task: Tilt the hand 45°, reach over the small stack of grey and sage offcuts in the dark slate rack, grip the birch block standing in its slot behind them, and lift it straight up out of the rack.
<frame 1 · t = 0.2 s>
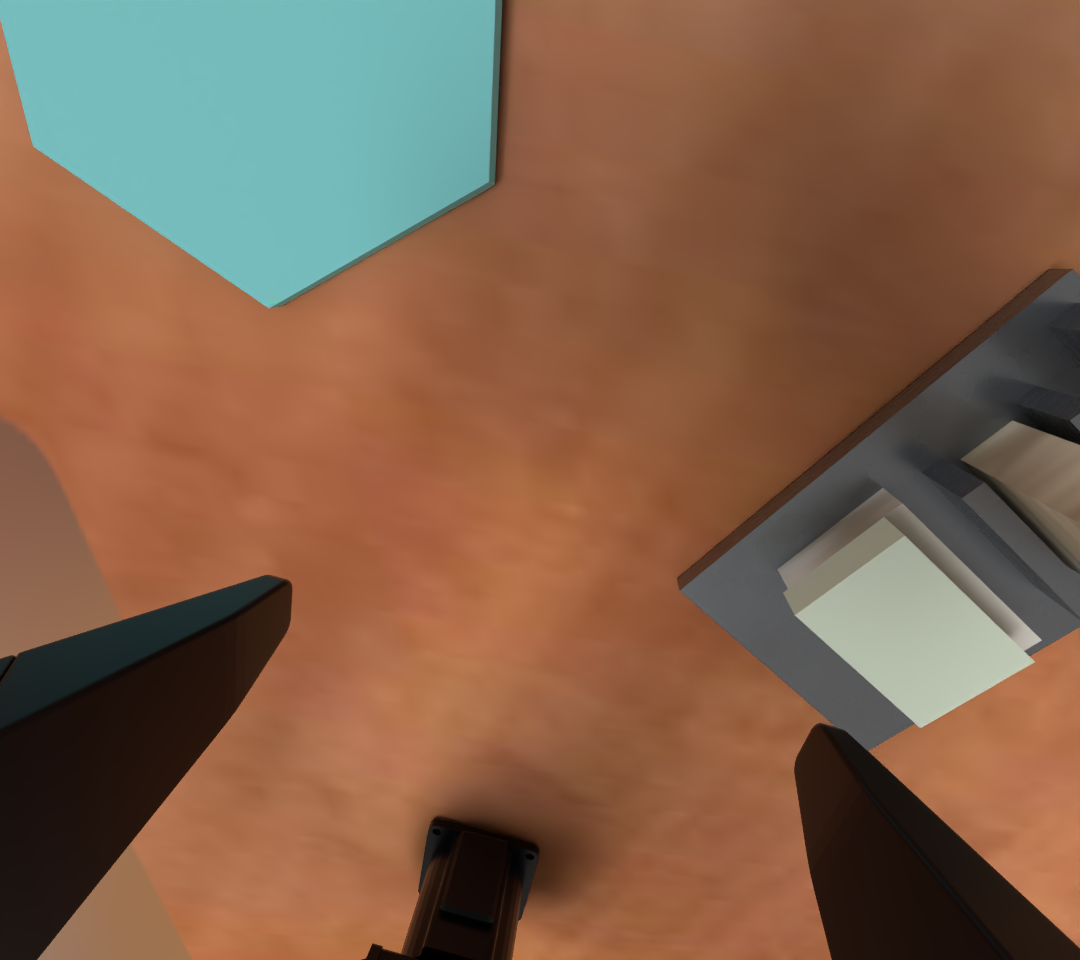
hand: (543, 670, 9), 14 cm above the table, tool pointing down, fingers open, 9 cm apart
offcut upper: (893, 613, 21), point 2 cm above the table, touching offcut lower
offcut rack: (1018, 484, 21), on the table
plaque: (264, 9, 19), on the table
birch block: (1037, 494, 20), point 1 cm above the table, touching offcut rack
offcut lower: (894, 592, 22), point 1 cm above the table, touching offcut rack, offcut upper
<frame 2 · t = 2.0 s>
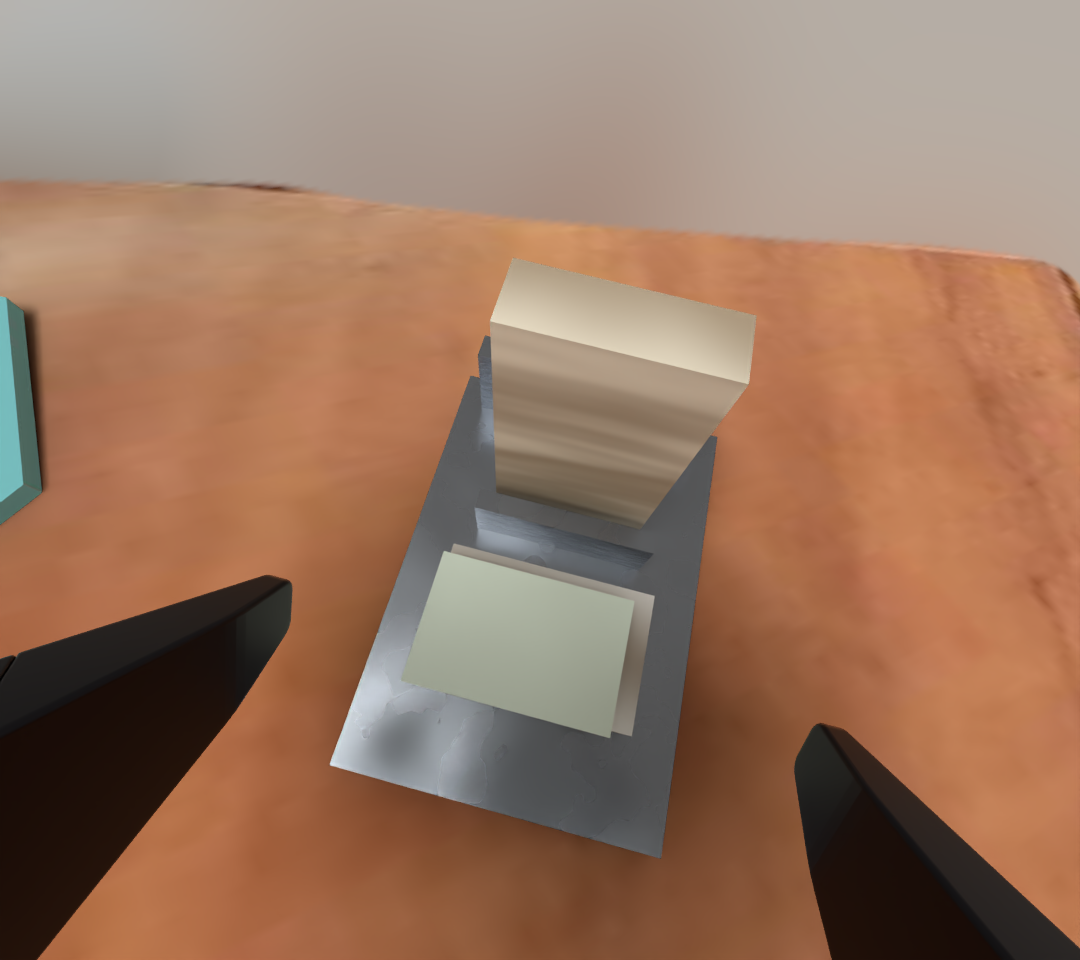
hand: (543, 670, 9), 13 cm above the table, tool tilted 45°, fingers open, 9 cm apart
offcut upper: (521, 644, 20), point 2 cm above the table, touching offcut lower
offcut rack: (566, 509, 25), on the table
birch block: (569, 501, 24), point 1 cm above the table, touching offcut rack
offcut lower: (535, 639, 21), point 1 cm above the table, touching offcut rack, offcut upper
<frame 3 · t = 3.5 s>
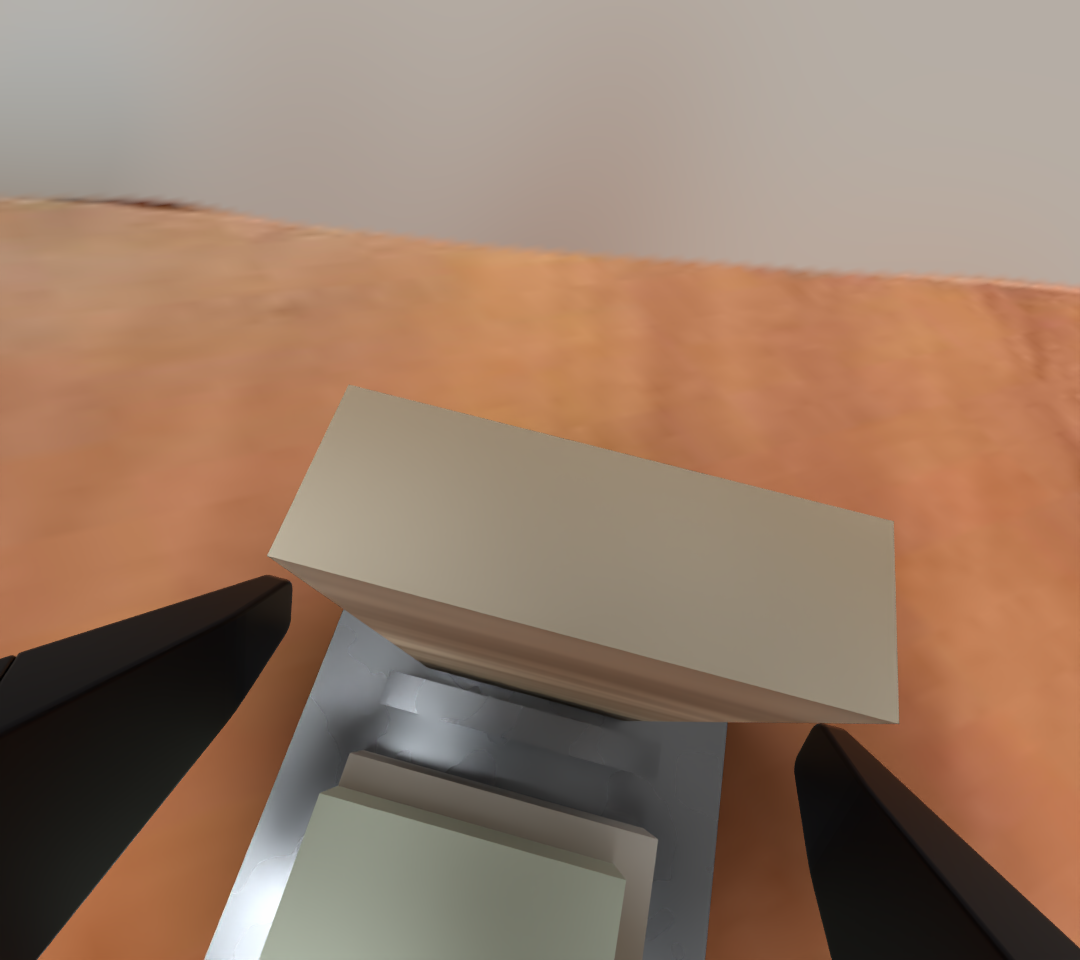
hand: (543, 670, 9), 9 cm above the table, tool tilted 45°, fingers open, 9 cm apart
offcut upper: (445, 936, 12), point 2 cm above the table, touching offcut lower
offcut rack: (531, 662, 17), on the table
birch block: (533, 659, 16), point 1 cm above the table, touching offcut rack
offcut lower: (475, 897, 14), point 1 cm above the table, touching offcut rack, offcut upper
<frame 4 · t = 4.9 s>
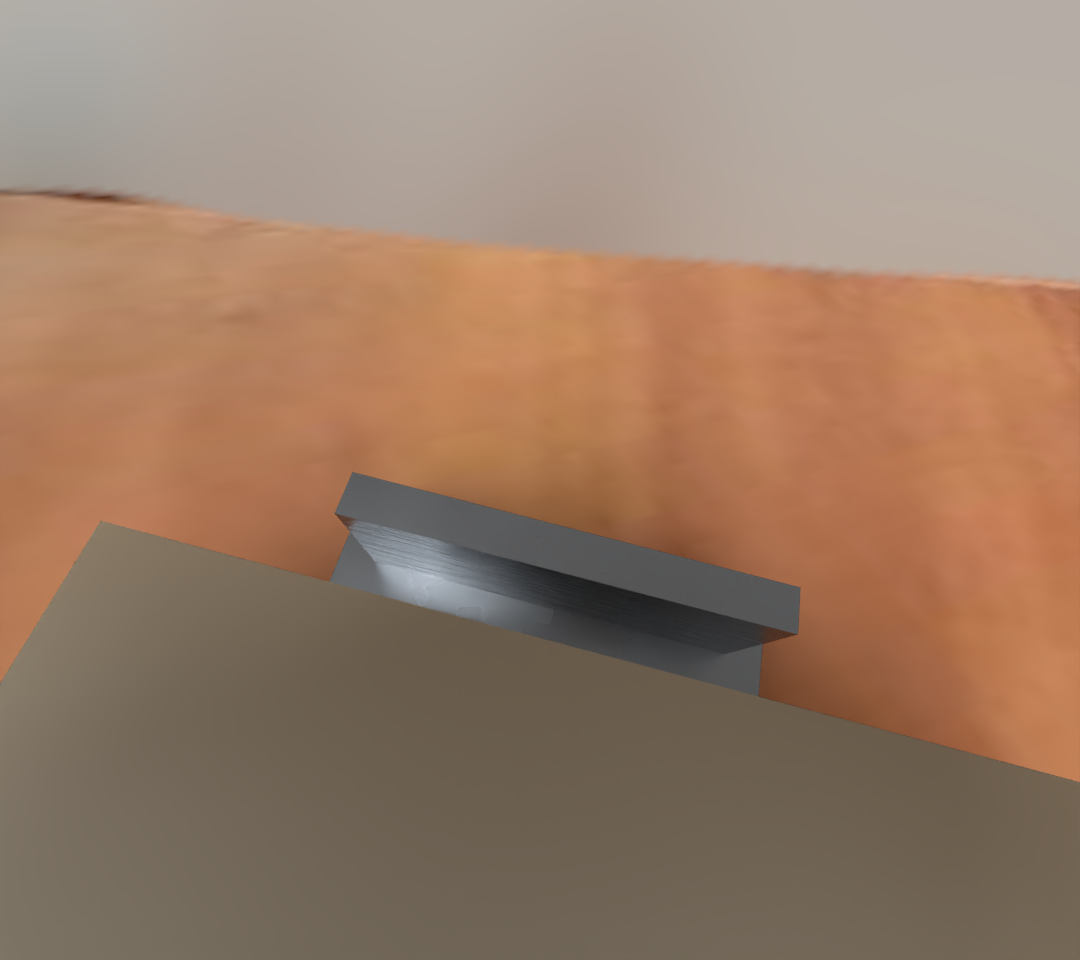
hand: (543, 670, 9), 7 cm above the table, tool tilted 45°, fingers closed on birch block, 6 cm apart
offcut rack: (514, 741, 15), on the table
birch block: (514, 743, 14), point 1 cm above the table, touching gripper, offcut rack
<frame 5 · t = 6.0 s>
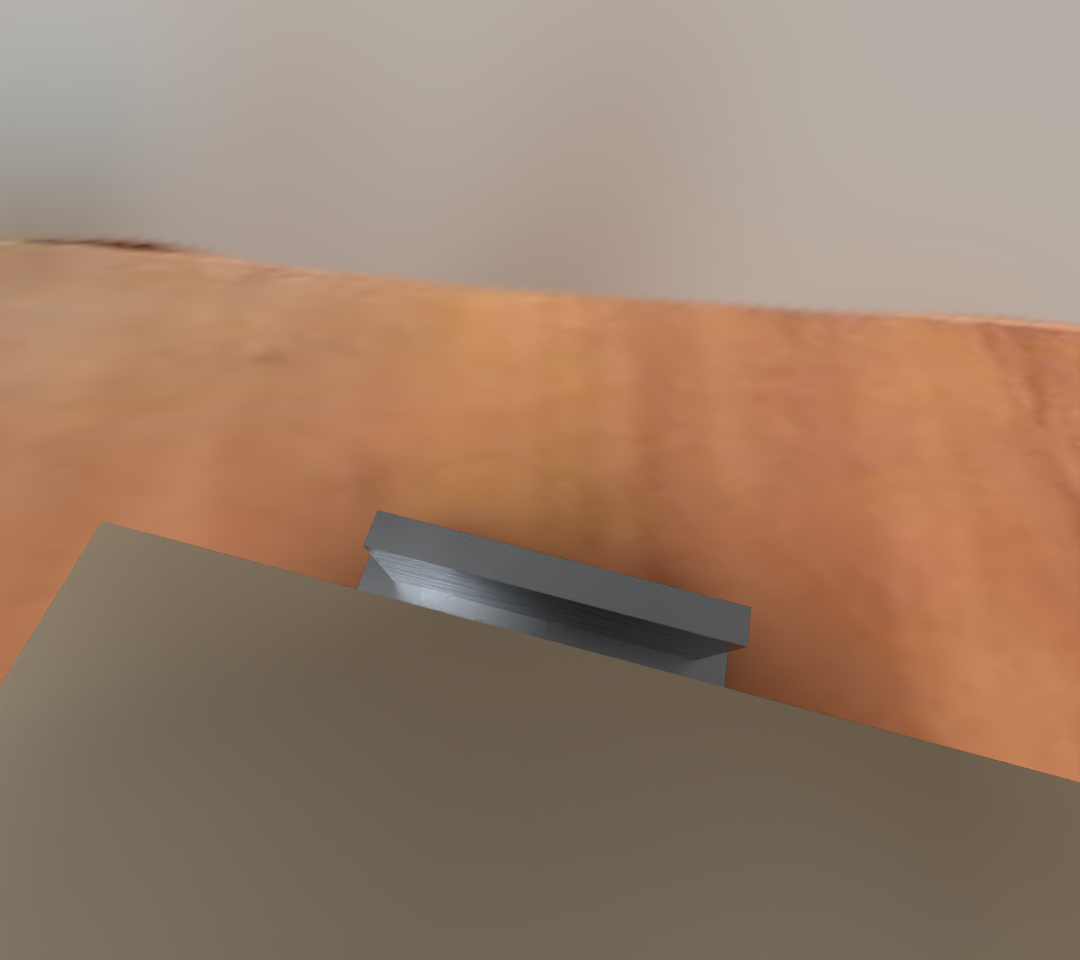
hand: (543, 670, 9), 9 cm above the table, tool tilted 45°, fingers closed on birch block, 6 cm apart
offcut rack: (513, 735, 17), on the table
birch block: (514, 743, 14), point 4 cm above the table, touching gripper
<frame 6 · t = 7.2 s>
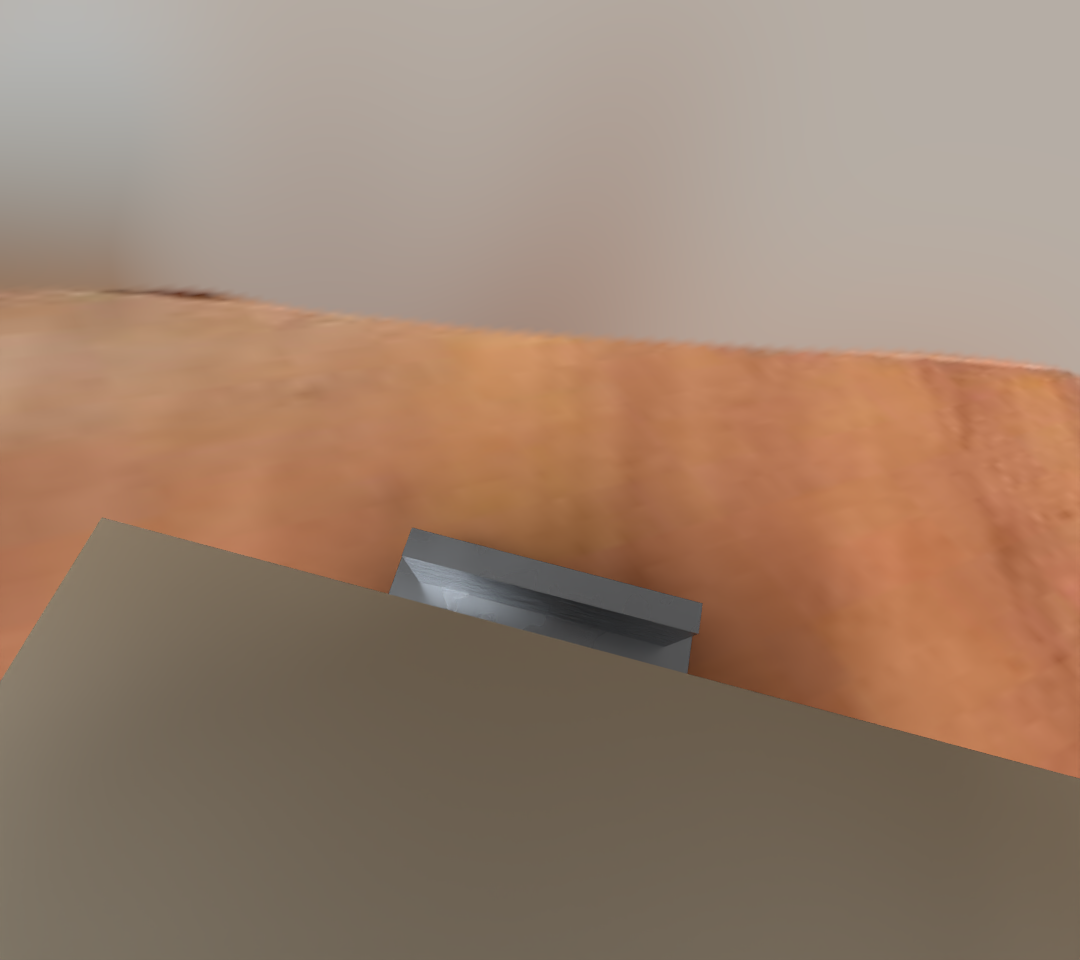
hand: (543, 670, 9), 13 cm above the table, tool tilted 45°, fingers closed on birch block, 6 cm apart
offcut rack: (517, 707, 21), on the table
birch block: (515, 742, 14), point 8 cm above the table, touching gripper
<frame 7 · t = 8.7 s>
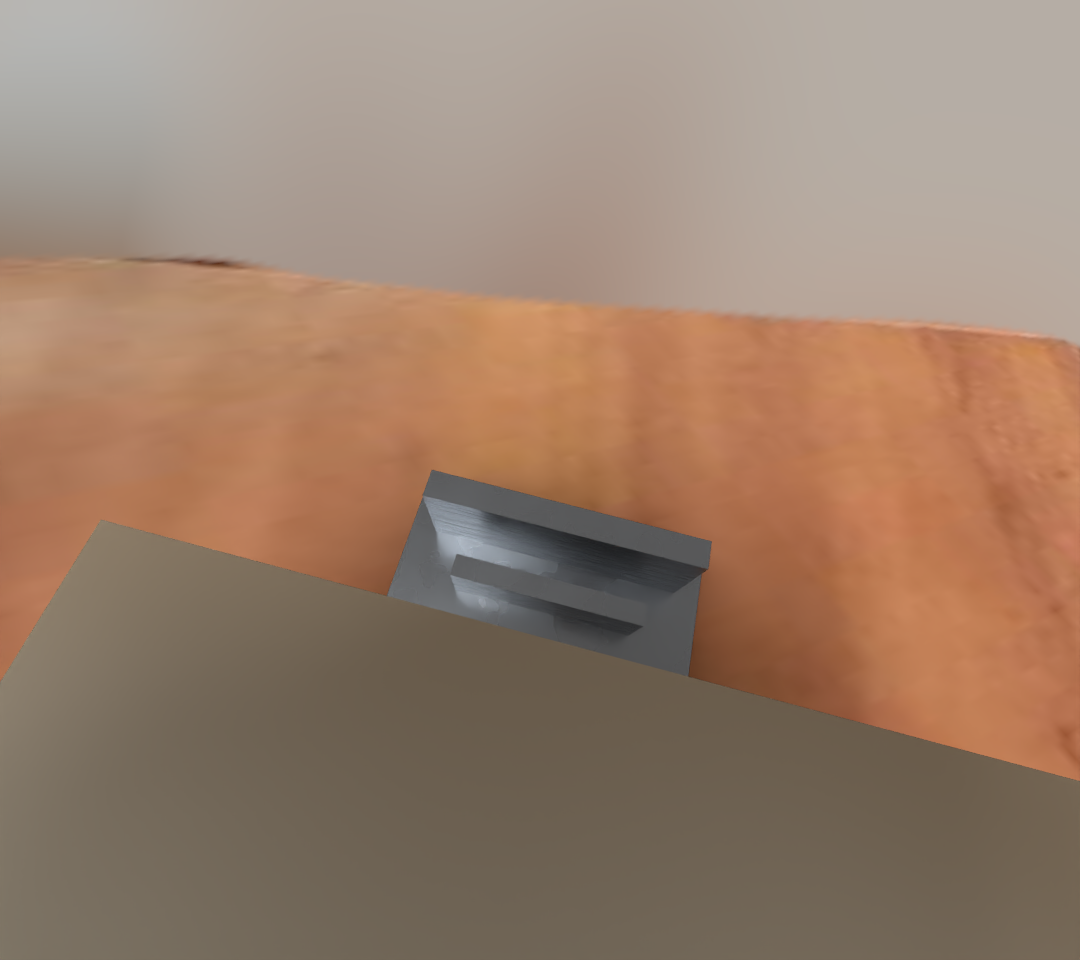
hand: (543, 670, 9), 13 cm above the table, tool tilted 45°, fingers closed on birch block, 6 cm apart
offcut rack: (531, 651, 22), on the table
birch block: (514, 743, 14), point 7 cm above the table, touching gripper
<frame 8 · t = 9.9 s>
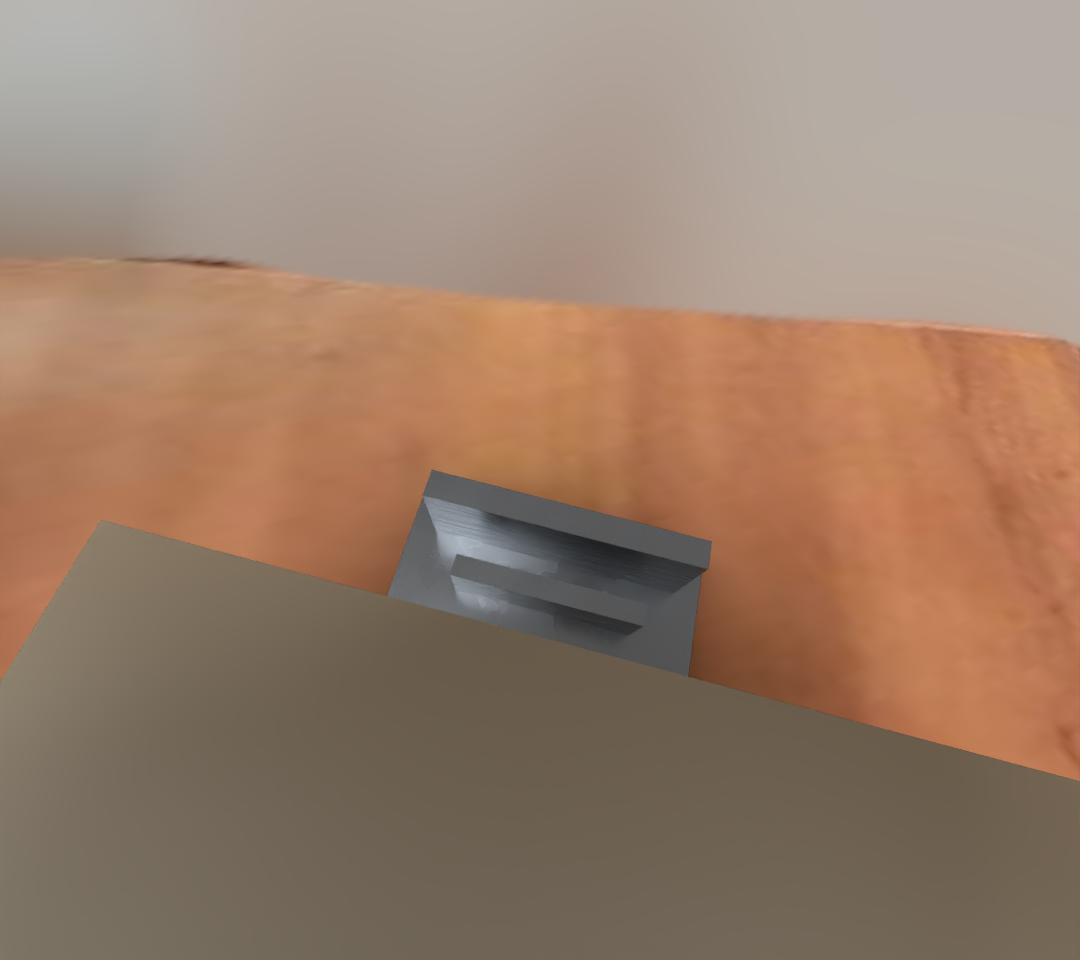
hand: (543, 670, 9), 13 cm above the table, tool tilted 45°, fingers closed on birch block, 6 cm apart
offcut rack: (531, 651, 22), on the table
birch block: (514, 743, 14), point 7 cm above the table, touching gripper
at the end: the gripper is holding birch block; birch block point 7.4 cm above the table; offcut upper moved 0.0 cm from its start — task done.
